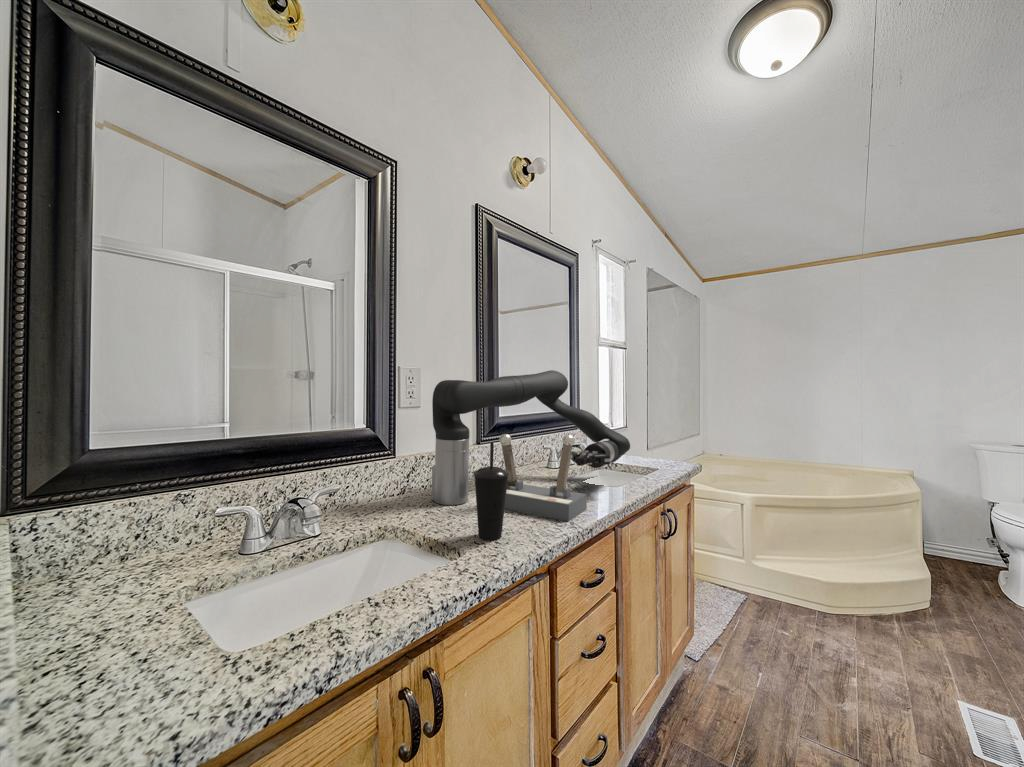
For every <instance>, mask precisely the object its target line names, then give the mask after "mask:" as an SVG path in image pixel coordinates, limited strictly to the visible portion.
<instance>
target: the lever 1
mask: <svg viewBox="0 0 1024 767" xmlns="http://www.w3.org/2000/svg"><path fill="white" fill-rule="evenodd" d="M499 436H500V437H499V439H498V440H499V443H500V445H501V450H502V456H503V461H504V466H505V471H508V472H509V476H508V485H509V486H513V487H515V483H516V482H517V481H518V477H517V472H516V467H515V464H516V463H515V460H514V453H513V448H512V437H511V435H510V434H508V433H503V434H501V435H499Z"/></svg>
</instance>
